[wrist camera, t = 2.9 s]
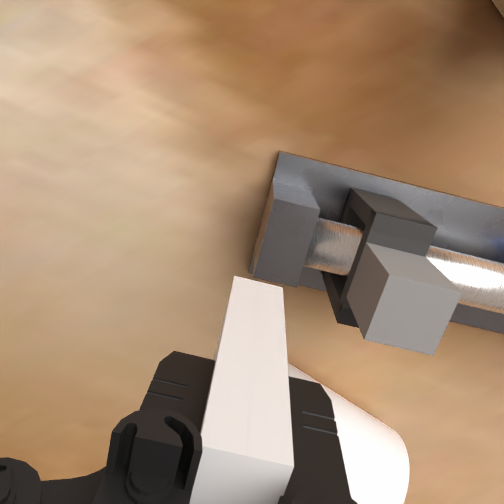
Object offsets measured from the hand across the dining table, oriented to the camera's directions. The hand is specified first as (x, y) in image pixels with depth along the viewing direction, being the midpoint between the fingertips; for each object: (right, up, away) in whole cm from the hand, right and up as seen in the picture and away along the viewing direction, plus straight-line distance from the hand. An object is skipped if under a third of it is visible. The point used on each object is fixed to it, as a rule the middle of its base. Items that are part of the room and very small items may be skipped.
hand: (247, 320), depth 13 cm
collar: (+7, +3, +14) cm, 16 cm away
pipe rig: (+13, +2, +15) cm, 19 cm away
